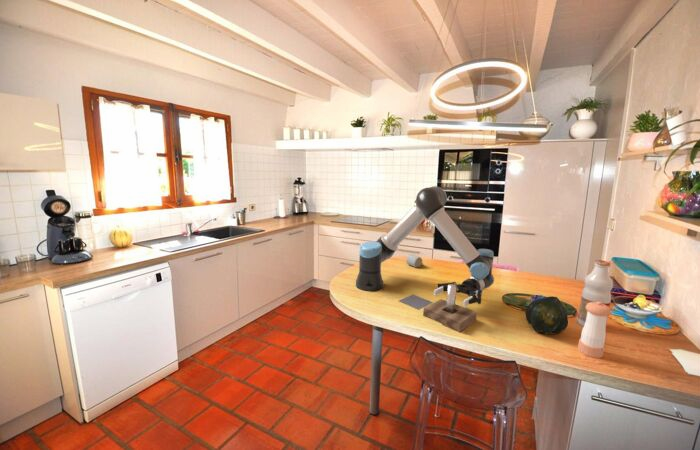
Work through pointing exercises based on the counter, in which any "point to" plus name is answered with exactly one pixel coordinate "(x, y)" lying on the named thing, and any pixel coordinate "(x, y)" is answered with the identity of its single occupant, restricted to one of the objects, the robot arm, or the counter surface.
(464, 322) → the socket block
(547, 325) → the squash
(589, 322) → the pepper shaker
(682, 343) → the counter surface
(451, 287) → the metal pin
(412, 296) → the rubber mat
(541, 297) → the pudding
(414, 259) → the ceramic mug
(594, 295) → the fruit juice
